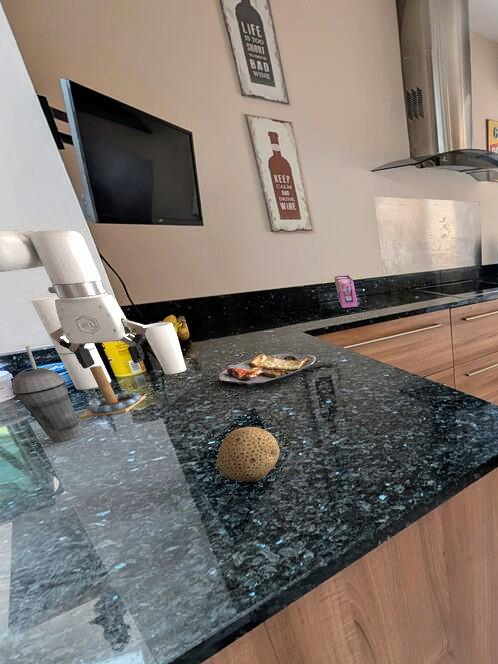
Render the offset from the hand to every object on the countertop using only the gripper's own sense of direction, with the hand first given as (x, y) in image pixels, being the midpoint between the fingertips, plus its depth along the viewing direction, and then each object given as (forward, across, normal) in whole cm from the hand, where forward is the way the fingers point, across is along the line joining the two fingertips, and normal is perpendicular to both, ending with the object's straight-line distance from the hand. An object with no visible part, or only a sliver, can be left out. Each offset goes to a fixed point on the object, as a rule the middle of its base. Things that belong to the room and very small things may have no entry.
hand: (114, 363), depth 93 cm
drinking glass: (+12, -1, +25) cm, 28 cm away
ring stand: (+11, -4, 0) cm, 12 cm away
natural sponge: (+11, +38, -45) cm, 60 cm away
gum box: (+11, +42, +118) cm, 126 cm away
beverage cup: (+12, -6, -13) cm, 18 cm away
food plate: (+11, +27, +14) cm, 33 cm away
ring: (+10, -3, 0) cm, 10 cm away
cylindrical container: (+12, -19, +21) cm, 30 cm away
